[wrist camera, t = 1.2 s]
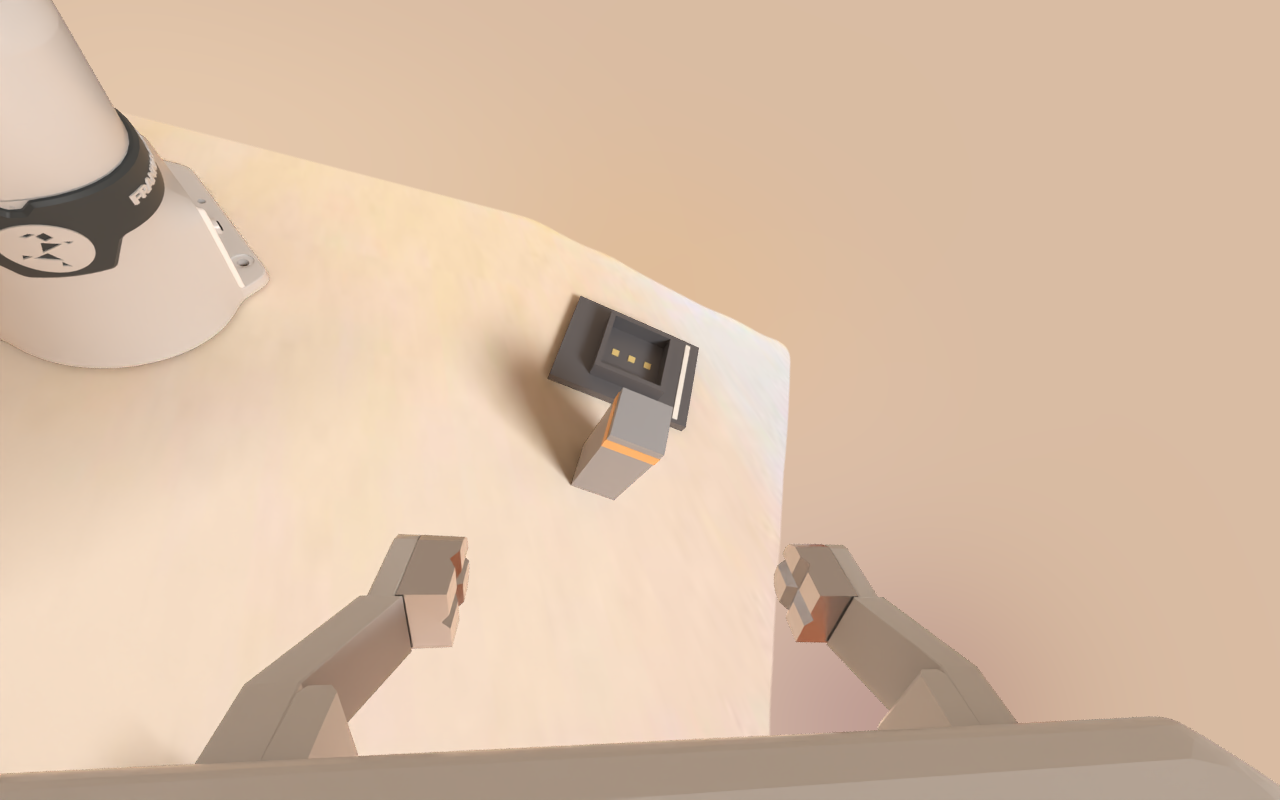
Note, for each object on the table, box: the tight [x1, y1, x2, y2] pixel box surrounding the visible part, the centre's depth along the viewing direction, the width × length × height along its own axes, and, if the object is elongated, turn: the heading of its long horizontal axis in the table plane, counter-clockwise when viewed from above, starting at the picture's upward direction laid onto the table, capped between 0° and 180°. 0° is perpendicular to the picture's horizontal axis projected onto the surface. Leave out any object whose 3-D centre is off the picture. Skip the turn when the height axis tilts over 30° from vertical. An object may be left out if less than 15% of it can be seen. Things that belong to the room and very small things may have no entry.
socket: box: [548, 296, 699, 431], centre depth 52 cm, size 16×12×3 cm
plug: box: [571, 387, 673, 500], centre depth 40 cm, size 5×5×12 cm
